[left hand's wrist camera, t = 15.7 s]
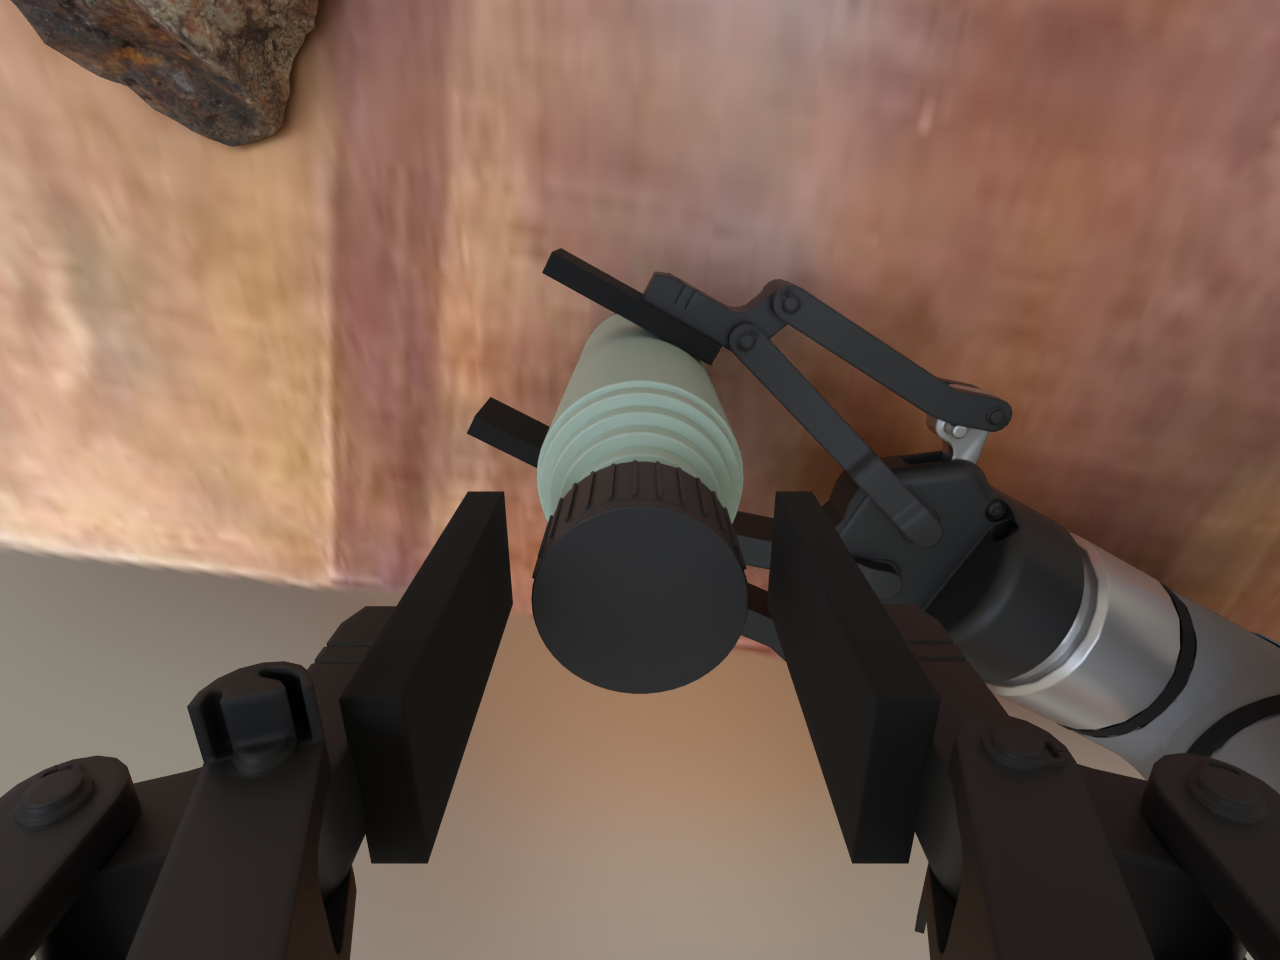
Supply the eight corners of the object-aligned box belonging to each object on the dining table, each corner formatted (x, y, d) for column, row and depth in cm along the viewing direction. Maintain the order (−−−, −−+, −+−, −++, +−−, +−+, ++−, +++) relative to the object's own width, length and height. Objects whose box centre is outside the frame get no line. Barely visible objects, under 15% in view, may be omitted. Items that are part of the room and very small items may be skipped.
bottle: (624, 283, 30) (598, 392, 12) (724, 354, 31) (847, 559, 13) (557, 384, 32) (440, 622, 13) (654, 448, 33) (672, 751, 14)
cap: (544, 622, 15) (528, 691, 13) (546, 452, 14) (528, 496, 12) (724, 632, 15) (738, 702, 13) (745, 464, 14) (765, 510, 12)
